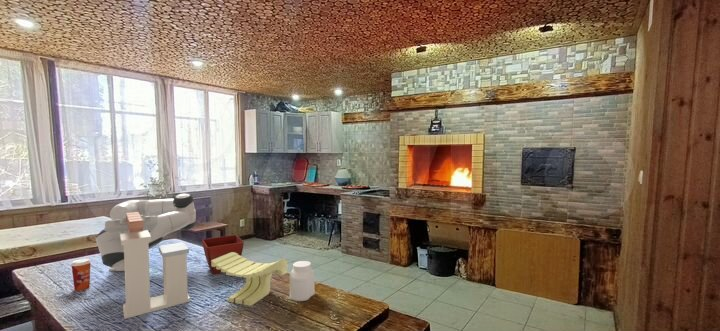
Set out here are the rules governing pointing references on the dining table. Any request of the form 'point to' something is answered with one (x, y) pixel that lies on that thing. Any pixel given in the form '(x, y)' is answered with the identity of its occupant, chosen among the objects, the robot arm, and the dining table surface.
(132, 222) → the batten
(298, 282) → the jar
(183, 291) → the stand
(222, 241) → the plant pot
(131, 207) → the robot arm
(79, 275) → the paper cup
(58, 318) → the dining table surface
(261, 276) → the slatted curved stool
